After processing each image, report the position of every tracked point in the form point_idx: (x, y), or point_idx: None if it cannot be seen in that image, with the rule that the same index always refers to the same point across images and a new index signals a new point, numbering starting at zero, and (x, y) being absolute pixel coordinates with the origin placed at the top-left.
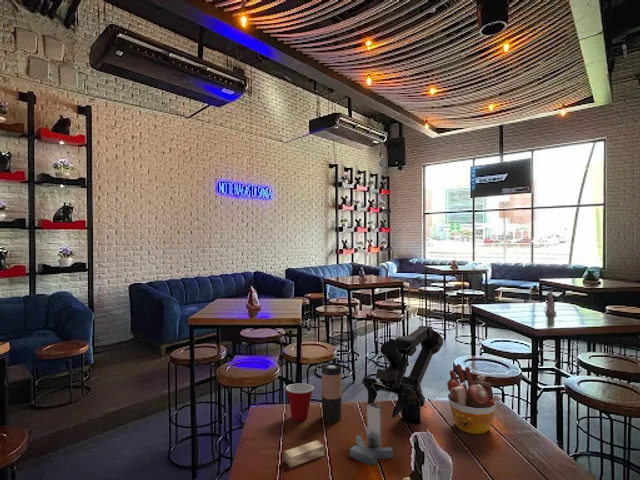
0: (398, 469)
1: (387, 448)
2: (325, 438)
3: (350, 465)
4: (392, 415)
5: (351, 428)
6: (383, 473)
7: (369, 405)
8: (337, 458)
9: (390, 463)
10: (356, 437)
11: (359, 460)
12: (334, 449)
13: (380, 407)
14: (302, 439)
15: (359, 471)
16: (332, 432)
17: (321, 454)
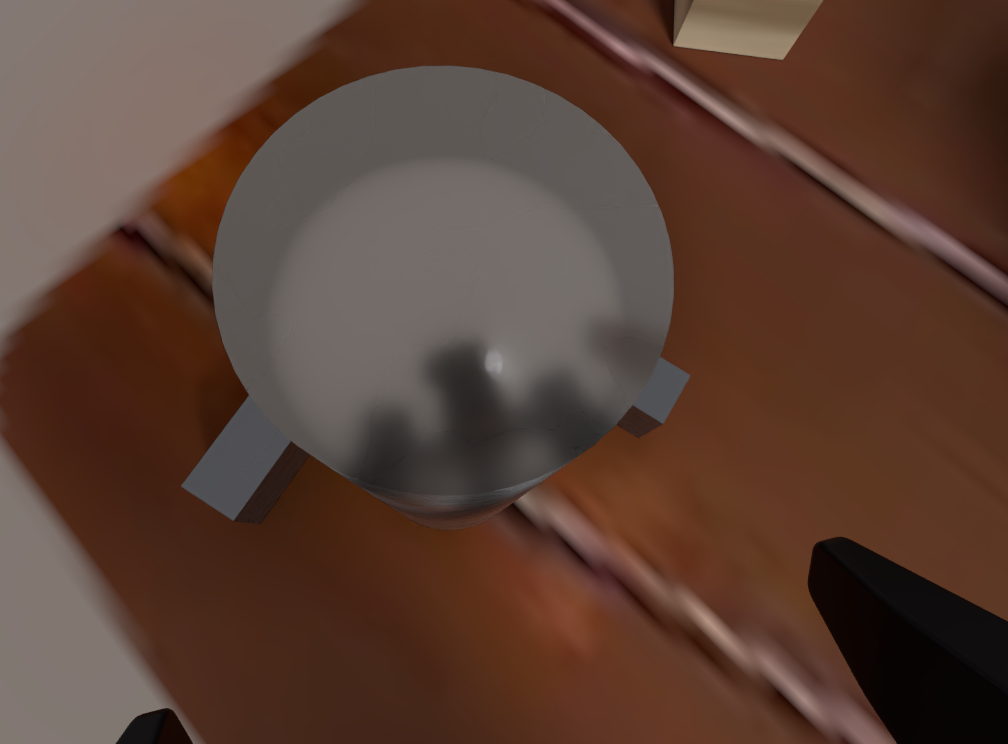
0: (51, 387)
1: (247, 462)
2: (906, 224)
3: None
4: (144, 724)
5: (950, 581)
6: (124, 233)
7: (596, 221)
8: (566, 95)
9: (173, 403)
10: (670, 367)
11: None
12: (698, 165)
13: (264, 379)
14: (992, 64)
15: (299, 104)
16: (974, 351)
17: (679, 10)
